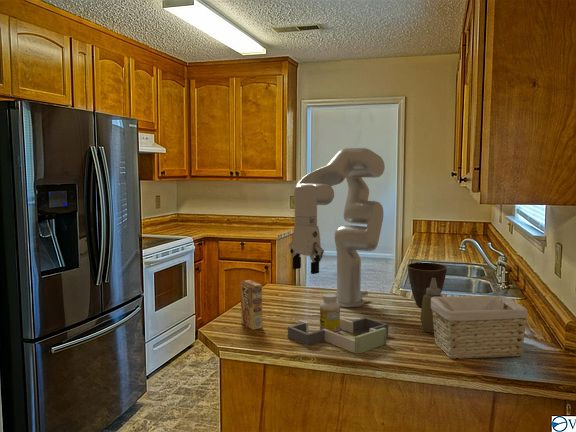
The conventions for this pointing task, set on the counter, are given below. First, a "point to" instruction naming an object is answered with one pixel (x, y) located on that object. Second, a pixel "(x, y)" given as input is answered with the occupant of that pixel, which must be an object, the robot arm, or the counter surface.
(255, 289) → the candy box
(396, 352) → the counter surface
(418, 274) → the plant pot
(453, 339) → the storage basket
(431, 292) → the squeeze bottle
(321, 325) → the supplement bottle
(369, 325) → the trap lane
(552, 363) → the counter surface
